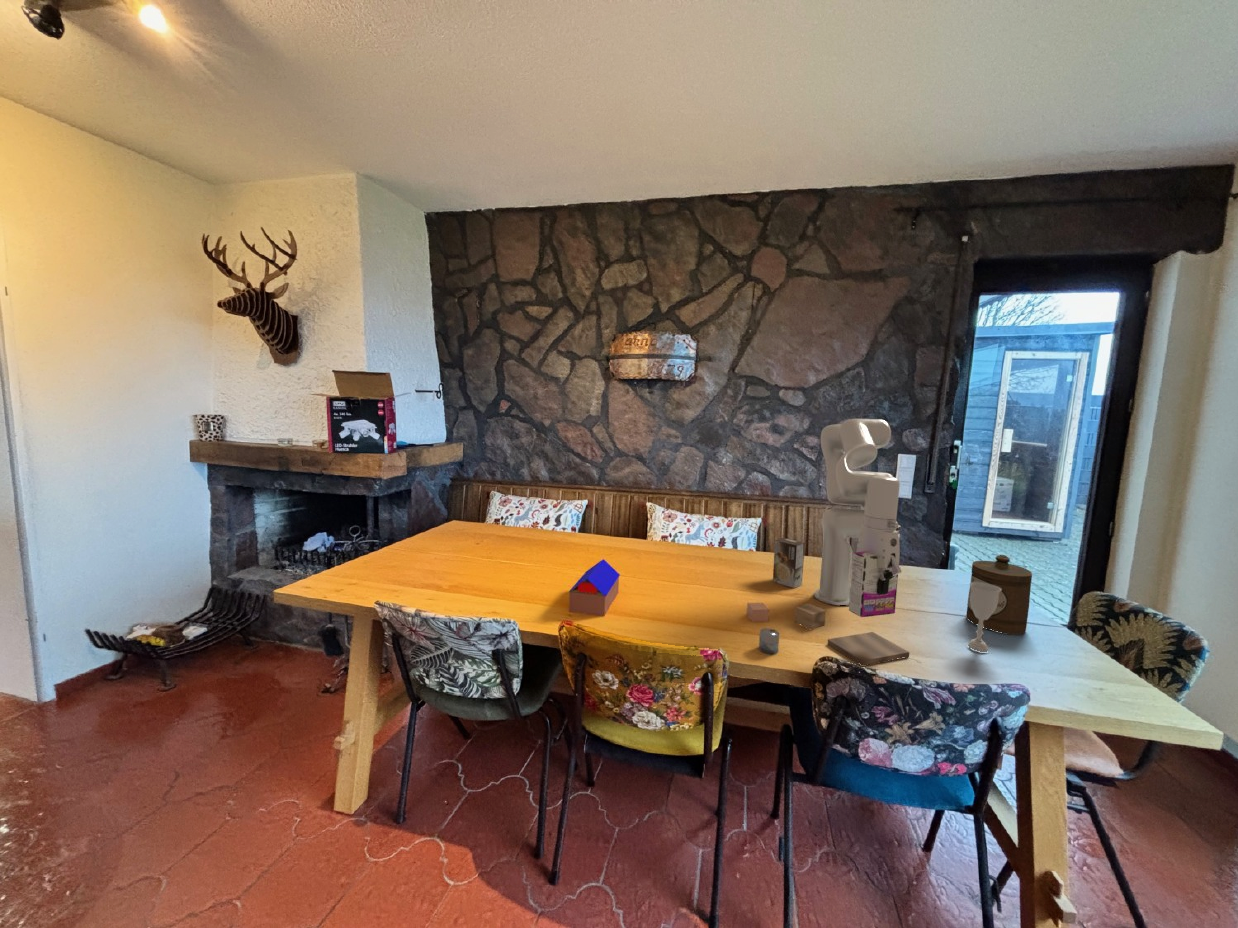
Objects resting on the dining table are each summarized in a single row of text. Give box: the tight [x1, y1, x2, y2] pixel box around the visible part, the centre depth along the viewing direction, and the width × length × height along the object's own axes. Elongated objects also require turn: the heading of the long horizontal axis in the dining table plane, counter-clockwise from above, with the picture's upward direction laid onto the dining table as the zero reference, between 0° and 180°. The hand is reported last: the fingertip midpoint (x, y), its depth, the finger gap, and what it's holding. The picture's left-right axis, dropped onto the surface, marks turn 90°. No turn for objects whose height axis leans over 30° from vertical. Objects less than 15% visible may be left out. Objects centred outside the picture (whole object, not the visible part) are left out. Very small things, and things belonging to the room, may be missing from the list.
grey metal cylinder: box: [758, 627, 780, 656], centre depth 132 cm, size 5×5×5 cm
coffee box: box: [772, 537, 806, 589], centre depth 182 cm, size 9×6×16 cm
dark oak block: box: [794, 603, 827, 631], centre depth 149 cm, size 6×6×5 cm
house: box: [568, 558, 621, 617], centre depth 160 cm, size 12×20×12 cm, turn 167°
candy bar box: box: [848, 551, 900, 618], centre depth 131 cm, size 11×5×16 cm, turn 106°
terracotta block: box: [746, 602, 770, 623], centre depth 152 cm, size 5×5×4 cm
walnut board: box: [827, 631, 910, 666], centre depth 133 cm, size 16×12×2 cm
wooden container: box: [965, 554, 1033, 635], centre depth 151 cm, size 15×15×22 cm
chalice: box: [967, 582, 1002, 652], centre depth 135 cm, size 7×7×18 cm
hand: (873, 588), depth 131 cm, fingers closed on candy bar box, 5 cm apart
